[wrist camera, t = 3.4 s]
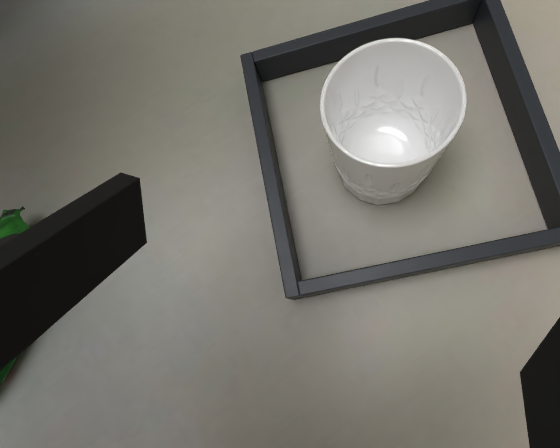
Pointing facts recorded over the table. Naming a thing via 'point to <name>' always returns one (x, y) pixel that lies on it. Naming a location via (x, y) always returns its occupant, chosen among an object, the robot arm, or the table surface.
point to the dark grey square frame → (411, 25)
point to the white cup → (391, 116)
